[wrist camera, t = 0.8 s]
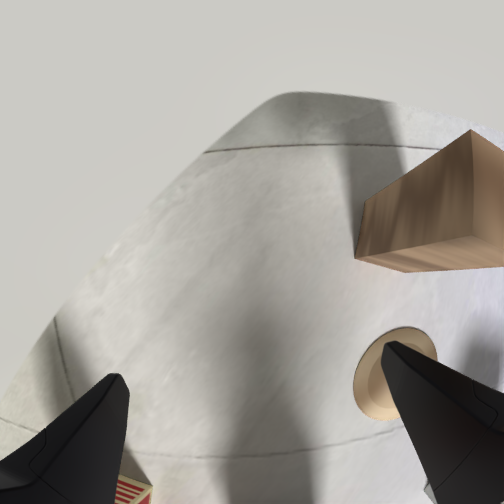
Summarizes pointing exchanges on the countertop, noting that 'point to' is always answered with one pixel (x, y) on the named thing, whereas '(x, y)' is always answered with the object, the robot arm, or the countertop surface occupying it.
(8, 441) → the countertop surface
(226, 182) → the countertop surface
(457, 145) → the walnut block
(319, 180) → the countertop surface
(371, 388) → the plate
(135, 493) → the milk carton
